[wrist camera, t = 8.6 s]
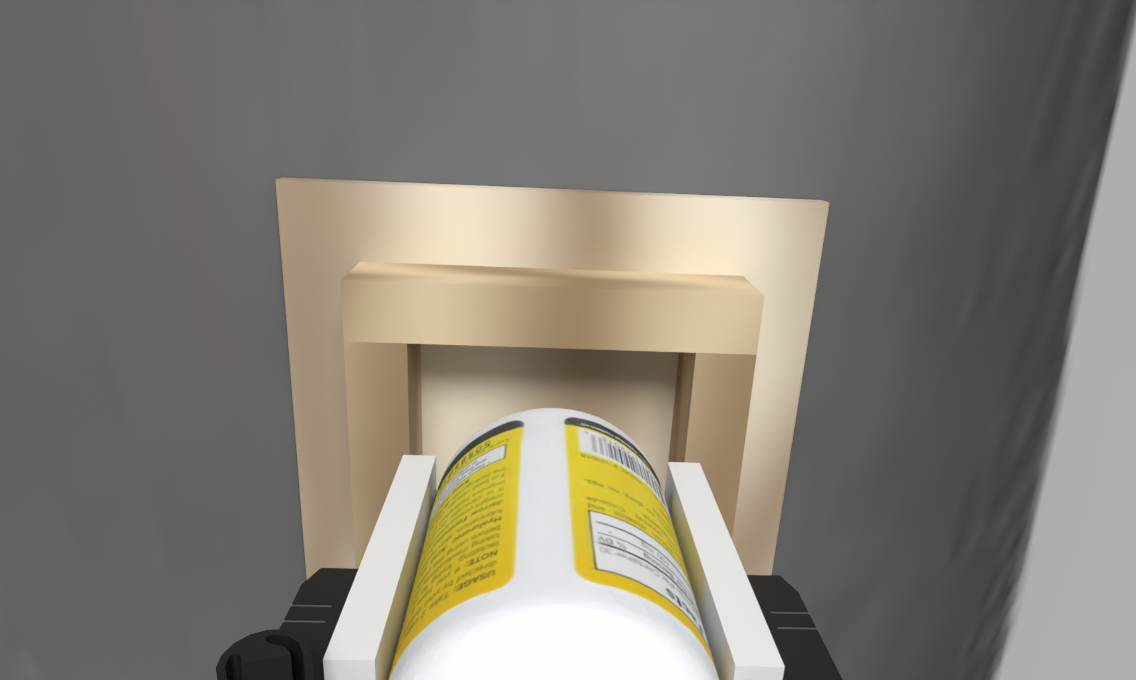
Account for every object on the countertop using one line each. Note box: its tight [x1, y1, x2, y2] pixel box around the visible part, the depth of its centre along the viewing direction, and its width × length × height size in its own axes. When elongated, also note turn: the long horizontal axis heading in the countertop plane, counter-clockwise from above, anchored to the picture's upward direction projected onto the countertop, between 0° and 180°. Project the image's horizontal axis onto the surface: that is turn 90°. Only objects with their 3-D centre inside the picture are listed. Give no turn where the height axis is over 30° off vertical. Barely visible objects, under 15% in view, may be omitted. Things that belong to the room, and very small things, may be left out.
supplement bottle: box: [388, 408, 719, 680], centre depth 13 cm, size 5×5×10 cm
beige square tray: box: [276, 177, 829, 579], centre depth 20 cm, size 14×14×2 cm
